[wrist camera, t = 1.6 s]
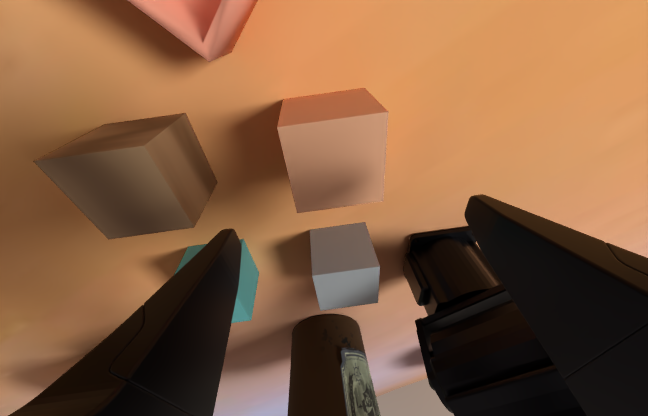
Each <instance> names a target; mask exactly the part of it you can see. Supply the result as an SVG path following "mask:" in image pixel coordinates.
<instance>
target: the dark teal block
mask: <svg viewBox="0 0 648 416" xmlns="http://www.w3.org/2000/svg"><path fill="white" fill-rule="evenodd" d="M240 242H241V246H242V253H241V265H240V278H239V287H238V292H237V297H236V302H235V307H234V312H233V317H232V322H231V323H234V322H242V321H249V320H251V319H252V313H253V307H254V300H255V294H256V288H257V282H258V276H259V272H258V270H257V267H256V265H255V263H254V261H253V259H252V257H251V254H250V252H249V250H248V248H247V246H246V243H245V241H244V239H240ZM205 245H207V244H204V245H196V246H189V247H188V248H187V250H186V252H185V254H184V256H183V258H182V260H181V262H180V264H179V266H178V268H177V270H176V272H175V274H176V273H177V272H178V271H179V270H180V269H181V268H182V267H183V266H184V265H185V264H186V263H187V262H189V261H190V260H191V259H192V258H193V257H194V256H195V255H196V254H197V253H198V252H199V251H200V250H201V249H202V248H203V247H204V246H205ZM175 274H174V275H175Z"/></svg>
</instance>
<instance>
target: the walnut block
mask: <svg viewBox="0 0 648 416" xmlns="http://www.w3.org/2000/svg"><path fill="white" fill-rule="evenodd" d="M34 162H35V163H36V164H37V165H38V167H39V168H40V169H41V170H42V171H43V172H44V173H45V174H46V175H47V176H48V177H49V178H50V179H51V180H52V181H53V182H54V183H55V184H56V185H57V186H58V187H59V188H60V189H61V190H62V191H63V193H64V194H65V195H66V196H67V197H68V198H69V199H70V200H71V201H72V202H73V203H74V204H75V205H76V206H77V207H78V208H79V209H80V210H81V211H82V212H83V213H84V214H85V215H86V216H87V217H88V219H89V220H90V221H91V222H92V223H93V224H94V225H95V226H96V227H97V228H98V229H99V230H100V231H101V232H102V233H103V234H104V235H105V236H106V237H107V238H108V239H115V238H122V237H129V236H136V235H143V234H151V233H158V232H165V231H172V230H179V229H186V228H194V227H195V225H196V223H197V221H198V219H199V217H200V215H201V213H202V211H203V210H204V208H205V206H206V204H207V202H208V200H209V198H210V196H211V194H212V192H213V190H214V188H215V186H216V184H217V180H216V178H215V176H214V174H213V172H212V169H211V167H210V165H209V163H208V161H207V159H206V156H205V154H204V152H203V150H202V148H201V146H200V143H199V141H198V139H197V137H196V135H195V132H194V130H193V128H192V126H191V124H190V122H189V119H188V117H187V115H186V113H182V114H175V115H168V116H161V117H154V118H147V119H140V120H133V121H125V122H118V123H111V124H104V125H102V126H101V127H99V128H97V129H95V130H93V131H91V132H89V133H87V134H85V135H83V136H81V137H79V138H77V139H75V140H73V141H72V142H70V143H68V144H66V145H64V146H62V147H60V148H58V149H56V150H54V151H52V152H50V153H48V154H46V155H44V156H43V157H41V158H39V159H37V160H35V161H34Z"/></svg>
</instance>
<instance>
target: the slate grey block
mask: <svg viewBox="0 0 648 416" xmlns="http://www.w3.org/2000/svg"><path fill="white" fill-rule="evenodd" d="M310 244H311V262H312V277H313V281H314V285H315V290H316V294H317V298H318V303H319V307H320V311H322V310H329V309H336V308H343V307H351V306H358V305H365V304H372V303H378V291H379V274H380V265H379V262H378V259H377V256H376V253H375V250H374V247H373V244H372V241H371V238H370V235H369V232H368V229H367V226H366V223H365V222H362V223H355V224H348V225H341V226H333V227H326V228H319V229H312V230H310Z"/></svg>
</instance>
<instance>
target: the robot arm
mask: <svg viewBox="0 0 648 416" xmlns="http://www.w3.org/2000/svg"><path fill="white" fill-rule="evenodd" d="M465 219H466V221H467V223H468V225H469V227H467V228H460V229H453V230H445V231H438V232H431V233H424V234H416V235H413V236H411V237H410V241H409V247H408V253H407V254H406V255H405V261H404V267H403V271H404V275H405V278H406V279H407V281H408V283H409V286H410V288H411V290H412V293H413V295H414V297H415V300H416V302H417V304H418V305H419V306H424V307H425V309H426V312H427V314H428V316H427V317H425V318H422V319H421V318H419V319H417V320H415V323H416V327H417V335H418V339H419V343H420V348H421V352H422V356H423V360H424V364H425V368H426V373H427V377H428V381H429V384H430V386H431V388H432V389H433V390H435V391H436V393H437V395H438V396H439V398H440V400H441V402H442V403H443V404H444V406H445V407H446V408H447V409H448V410H449V411H450V412H451V413H454V416H648V258H646V257H644V256H641V255H638V254H636V253H633V252H630V251H628V250H625V249H622V248H620V247H617V246H615V245H612V244H610V243H605V242H604V241H602V240H599V239H597V238H594V237H591V236H589V235H586V234H584V233H581V232H579V231H576V230H573V229H571V228H568V227H566V226H563V225H561V224H558V223H555V222H553V221H550V220H548V219H545V218H543V217H540V216H537V215H535V214H532V213H530V212H527V211H525V210H522V209H519V208H517V207H514V206H512V205H509V204H507V203H504V202H501V201H499V200H496V199H494V198H491V197H489V196H486V195H474V196H471V197H470V198H469V201H468V204H467V207H466V210H465ZM476 241H477V243H478V245H479V247H480V248H479V247H478V246H477V244H476ZM241 253H242V246H241V242H240V240H239V238H238V236H237V234H236V232H235V230H234V229H224V230H222V231H220V232H219V233H218V234H217V235H216V236H215V237H214V238H213V239H212V240H211V241H210V242H209V243H208V244H207V245H205V246H204V247H203V248H202V249H201V250H200V251H199V252H198V253H197V254H196V255H195V256H194V257H193V258H192V259H191V260H190V261H189V262H187V263H186V264H185V265H184V266H183V267H182V268H181V269H180V270H179V271H178V272H177V273H176V274H175V275H174V276H173V277H172V278H171V279H169V280H168V281H167V282H166V283H165V284H164V285H163V286H162V287H161V288H160V289H159V290H158V291H157V292H156V293H155V294H154V295H152V296H151V297H150V298H149V299H148V300H147V301H146V302H145V303H144V305H142V306H141V307H140V308H139V309H138V310H137V311H135V312H134V313H133V314H132V315H131V316H130V317H129V318H128V319H127V320H126V321H125V322H124V323H122V324H121V325H120V326H119V327H118V328H117V329H116V330H115V331H114V332H113V333H111V334H110V335H109V336H108V337H107V338H106V339H104V340H103V341H102V342H101V343H100V344H99V345H97V346H96V347H95V348H94V349H93V350H92V351H90V352H89V353H88V354H87V355H86V356H85V357H83V358H82V359H81V360H80V361H79V362H77V363H76V364H75V365H74V366H73V367H71V368H70V369H69V370H68V371H67V372H66V373H64V374H63V375H62V376H61V377H60V378H58V379H57V380H56V381H55V382H54V383H52V384H51V385H50V386H49V387H48V388H47V389H45V390H44V391H43V392H42V393H40V394H39V395H38V396H37V397H35V398H34V399H33V400H31V401H30V402H29V403H27V404H26V405H24V406H23V407H21V408H20V409H18V410H17V411H15V412H13V413H12V414H10V415H8V416H213V412H214V407H215V402H216V397H217V392H218V387H219V382H220V377H221V372H222V367H223V362H224V357H225V352H226V347H227V342H228V337H229V332H230V327H231V322H232V317H233V312H234V307H235V302H236V297H237V292H238V287H239V278H240V265H241Z"/></svg>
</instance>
